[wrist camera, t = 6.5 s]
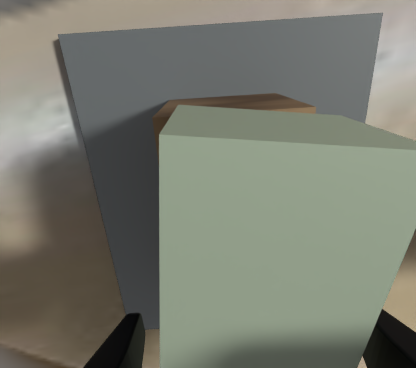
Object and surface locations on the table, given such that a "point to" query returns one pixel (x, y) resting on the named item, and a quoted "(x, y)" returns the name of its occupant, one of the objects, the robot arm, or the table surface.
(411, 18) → the table surface
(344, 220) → the lintel
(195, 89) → the board
